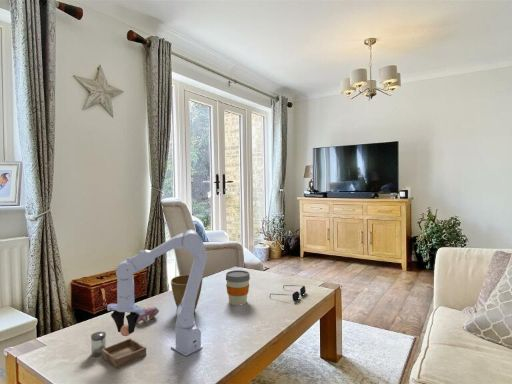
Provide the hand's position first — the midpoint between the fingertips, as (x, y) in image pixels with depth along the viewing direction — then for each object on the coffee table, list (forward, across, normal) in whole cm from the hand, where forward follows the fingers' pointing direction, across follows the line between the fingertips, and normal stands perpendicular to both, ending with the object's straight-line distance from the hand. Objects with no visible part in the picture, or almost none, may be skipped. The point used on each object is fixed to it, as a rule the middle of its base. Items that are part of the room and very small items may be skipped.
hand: (126, 331), depth 116 cm
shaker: (+9, +10, +2) cm, 14 cm away
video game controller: (+9, +10, -28) cm, 31 cm away
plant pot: (+9, -3, -40) cm, 41 cm away
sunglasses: (+9, -46, -76) cm, 89 cm away
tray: (+8, 0, +1) cm, 9 cm away
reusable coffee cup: (+8, -22, -59) cm, 64 cm away
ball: (0, 0, 0) cm, 1 cm away
